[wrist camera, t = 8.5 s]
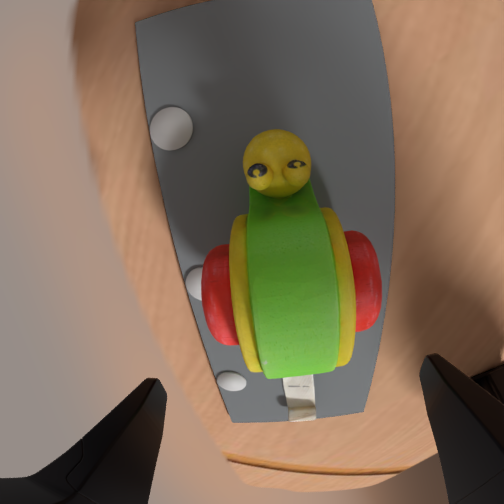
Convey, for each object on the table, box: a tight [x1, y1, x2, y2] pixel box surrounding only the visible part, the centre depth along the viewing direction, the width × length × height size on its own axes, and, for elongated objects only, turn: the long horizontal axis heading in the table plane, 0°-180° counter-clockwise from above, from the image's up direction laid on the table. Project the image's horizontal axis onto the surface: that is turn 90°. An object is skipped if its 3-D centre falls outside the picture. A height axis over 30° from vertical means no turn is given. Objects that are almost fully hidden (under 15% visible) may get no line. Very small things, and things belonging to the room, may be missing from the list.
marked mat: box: [135, 0, 395, 423], centre depth 15 cm, size 28×11×1 cm, turn 8°
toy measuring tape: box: [201, 129, 382, 422], centre depth 13 cm, size 6×19×7 cm, turn 8°
